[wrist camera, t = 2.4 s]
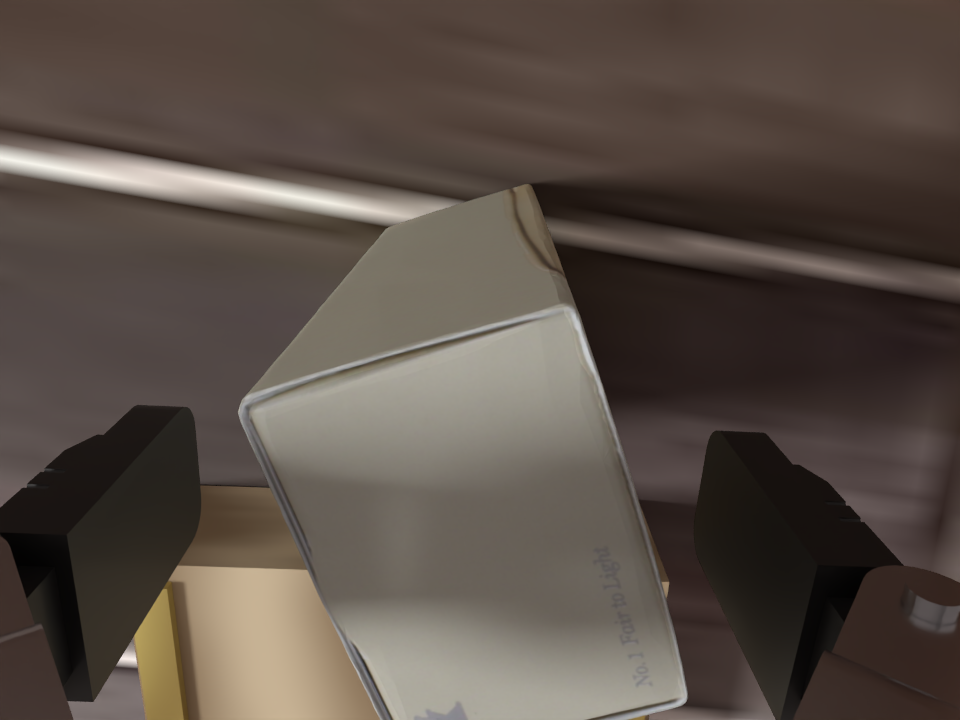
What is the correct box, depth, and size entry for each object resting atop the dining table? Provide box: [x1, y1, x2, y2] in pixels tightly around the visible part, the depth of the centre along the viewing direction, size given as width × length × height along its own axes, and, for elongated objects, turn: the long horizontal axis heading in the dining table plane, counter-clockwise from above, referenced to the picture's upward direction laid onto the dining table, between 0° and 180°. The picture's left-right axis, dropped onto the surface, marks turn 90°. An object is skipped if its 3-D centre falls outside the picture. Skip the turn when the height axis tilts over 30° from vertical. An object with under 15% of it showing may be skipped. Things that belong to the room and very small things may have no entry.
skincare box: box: [238, 184, 688, 720], centre depth 15 cm, size 6×4×12 cm
